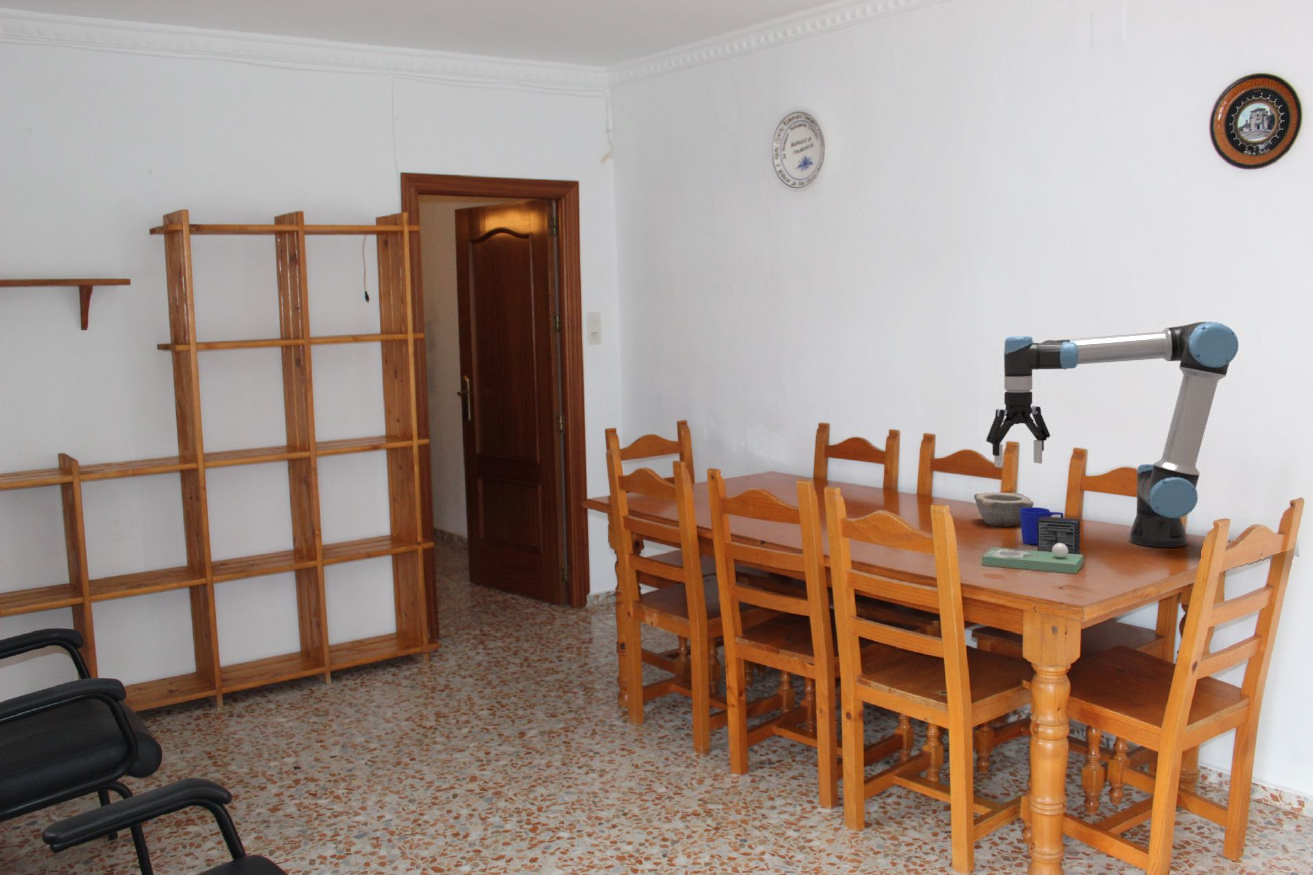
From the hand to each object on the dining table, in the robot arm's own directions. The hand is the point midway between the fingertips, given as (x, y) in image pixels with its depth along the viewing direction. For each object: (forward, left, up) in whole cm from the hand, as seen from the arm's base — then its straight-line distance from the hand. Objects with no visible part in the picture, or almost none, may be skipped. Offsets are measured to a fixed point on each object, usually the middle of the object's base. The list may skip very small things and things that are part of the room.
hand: (1018, 465), depth 301 cm
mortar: (+12, -34, -25) cm, 44 cm away
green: (-7, +17, -25) cm, 31 cm away
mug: (-4, -11, -25) cm, 27 cm away
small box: (-12, +3, -25) cm, 28 cm away
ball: (-14, +17, -20) cm, 30 cm away
